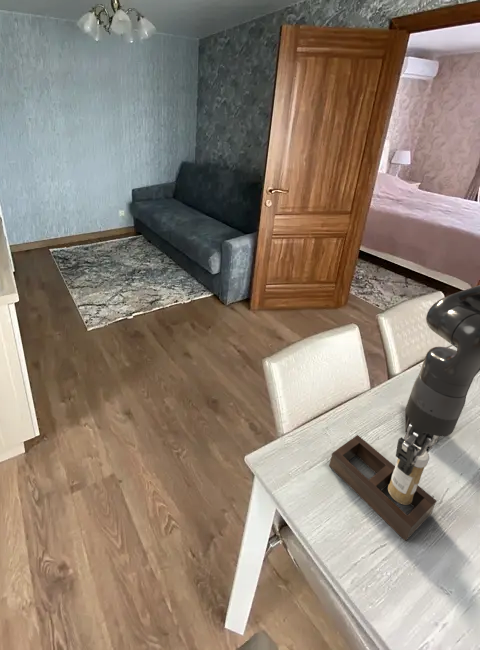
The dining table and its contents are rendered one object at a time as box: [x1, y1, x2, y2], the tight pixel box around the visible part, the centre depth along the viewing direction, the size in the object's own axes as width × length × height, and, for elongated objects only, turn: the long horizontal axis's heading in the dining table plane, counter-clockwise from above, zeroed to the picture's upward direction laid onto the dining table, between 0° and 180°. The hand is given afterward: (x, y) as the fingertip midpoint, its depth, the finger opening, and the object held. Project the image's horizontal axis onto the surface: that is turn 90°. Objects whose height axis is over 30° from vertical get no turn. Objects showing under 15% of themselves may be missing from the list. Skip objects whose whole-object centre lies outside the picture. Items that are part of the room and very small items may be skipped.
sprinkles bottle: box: [387, 444, 430, 506], centre depth 71 cm, size 5×5×14 cm
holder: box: [328, 434, 438, 542], centre depth 77 cm, size 10×18×4 cm, turn 30°
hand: (410, 464), depth 70 cm, fingers closed on sprinkles bottle, 4 cm apart
